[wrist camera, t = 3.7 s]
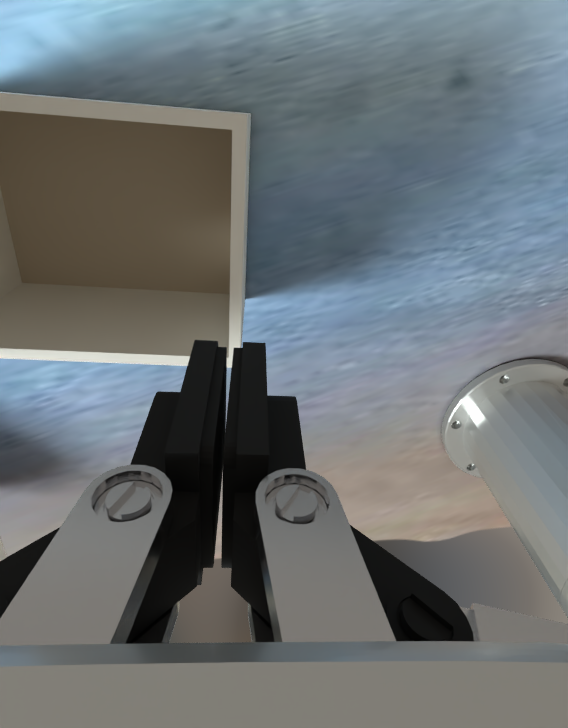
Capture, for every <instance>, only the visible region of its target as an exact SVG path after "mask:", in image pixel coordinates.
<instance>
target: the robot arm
mask: <svg viewBox="0 0 568 728" xmlns="http://www.w3.org/2000/svg"><path fill="white" fill-rule="evenodd" d="M226 367H227V347H218V341H210V340H195V341H194V344H193V348H192V351H191V355H190V359H189V362H188V366H187V370H186V374H185V377H184V381H183V385H182V388H181V392H157V393H156V395H155V397H154V400H153V403H152V406H151V408H150V411H149V414H148V417H147V420H146V422H145V425H144V428H143V431H142V434H141V437H140V439H139V442H138V445H137V448H136V451H135V453H134V456H133V459H132V462H131V465H127V466H122V467H117V468H115V469H112V470H110V471H107V472H105V473H103V474H102V475H100V476H99V477H98V478H96V479H95V480H93V482H92V483H91V484H90V485H89V486H88V487H87V488H86V490H85V491H84V493H83V494H82V496H81V497H80V499H79V500H78V502H77V503H76V505H75V506H74V508H73V509H72V511H71V512H70V514H69V515H68V517H67V518H66V520H65V521H64V523H63V524H62V526H61V527H60V528H58V529H56V530H54V531H53V532H51V533H49V534H47V535H46V536H44V537H42V538H40V539H38V540H37V541H35V542H33V543H31V544H30V545H28V546H26V547H24V548H23V549H21V550H19V551H17V552H16V553H14V554H12V555H10V556H9V557H7V558H5V559H3V560H2V561H0V728H568V624H565V623H561V622H556V621H551V620H547V619H543V618H538V617H534V616H529V615H524V614H520V613H516V612H511V611H507V610H502V609H498V608H493V607H489V606H484V605H480V604H475V603H472V606H471V607H470V609H468V608H463V607H459V606H458V604H457V603H456V602H455V601H454V600H453V599H452V598H450V597H449V596H448V595H447V594H446V593H445V592H444V591H442V590H441V589H439V588H438V587H437V586H435V585H434V584H432V583H431V582H430V581H428V580H427V579H425V578H424V577H423V576H421V575H420V574H418V573H417V572H416V571H414V570H413V569H411V568H410V567H408V566H407V565H405V564H404V563H403V562H401V561H400V560H399V559H397V558H396V557H394V556H393V555H392V554H390V553H389V552H387V551H386V550H385V549H383V548H382V547H380V546H379V545H378V544H376V543H375V542H373V541H372V540H371V539H369V538H368V537H366V536H365V535H363V534H362V533H361V532H359V531H358V530H356V529H355V528H354V527H352V526H351V525H349V522H348V520H347V517H346V515H345V512H344V510H343V507H342V505H341V502H340V500H339V497H338V495H337V493H336V491H335V490H334V488H333V486H332V485H331V484H330V483H329V482H328V481H327V480H326V479H325V478H323V477H322V476H320V475H318V474H316V473H314V472H312V471H308V470H306V465H305V458H304V451H303V443H302V436H301V429H300V421H299V414H298V406H297V400H296V397H292V396H267V375H266V346H265V343H252V342H243V348H234V350H233V360H232V370H231V381H230V391H229V401H228V411H227V422H226ZM225 423H226V432H225ZM441 434H442V442H443V445H444V448H445V450H446V452H447V454H448V456H449V457H450V459H451V461H452V462H453V463H454V464H455V465H456V466H457V467H458V468H459V469H461V470H462V471H464V472H465V473H467V474H470V475H473V476H475V477H479V478H483V480H484V481H485V483H486V485H487V486H488V488H489V490H490V491H491V493H492V495H493V496H494V498H495V500H496V501H497V503H498V504H499V506H500V508H501V509H502V511H503V513H504V514H505V516H506V518H507V519H508V521H509V523H510V524H511V526H512V527H513V529H514V531H515V532H516V534H517V536H518V537H519V539H520V541H521V542H522V544H523V546H524V547H525V549H526V550H527V552H528V554H529V555H530V557H531V559H532V560H533V562H534V564H535V565H536V567H537V568H538V570H539V572H540V573H541V575H542V577H543V579H544V580H545V582H546V583H547V585H548V586H549V588H550V590H551V592H552V593H553V595H554V597H555V598H556V600H557V602H558V603H559V605H560V607H561V608H562V610H563V611H564V613H565V614H566V616H567V618H568V368H567V367H565V366H563V365H561V364H559V363H557V362H552V361H548V360H542V359H526V360H518V361H513V362H510V363H506V364H503V365H500V366H498V367H495V368H493V369H491V370H489V371H487V372H485V373H483V374H482V375H480V376H479V377H477V378H475V379H474V380H473V381H471V382H470V383H469V384H468V385H467V386H465V387H464V388H463V389H462V390H461V391H460V393H459V394H458V395H457V396H456V397H455V398H454V400H453V401H452V403H451V404H450V406H449V408H448V409H447V411H446V414H445V417H444V419H443V423H442V430H441ZM222 471H223V505H222V568H232V573H231V587H232V588H233V589H234V590H235V591H236V592H238V594H240V595H241V596H242V597H243V598H244V599H245V600H246V601H247V602H248V617H249V625H250V632H251V639H252V642H245V643H243V642H242V643H169V642H170V638H171V635H172V632H173V629H174V625H175V622H176V619H177V616H178V611H179V604H180V602H179V601H180V600H181V599H182V598H183V597H184V596H185V595H187V594H188V593H189V592H191V591H192V590H193V589H194V588H195V587H196V586H197V585H201V581H202V573H203V568H212V567H213V564H214V554H215V544H216V534H217V523H218V513H219V502H220V492H221V481H222Z"/></svg>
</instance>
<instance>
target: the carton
mask: <svg viewBox="0 0 568 728" xmlns="http://www.w3.org/2000/svg"><path fill="white" fill-rule="evenodd" d="M250 135H251V113H242V112H230V111H219V110H207V109H196V108H184V107H173V106H161V105H149V104H138V103H126V102H115V101H103V100H92V99H80V98H69V97H57V96H45V95H34V94H22V93H11V92H0V358H5V359H29V360H54V361H79V362H103V363H128V364H153V365H177V366H188V362H189V359H190V355H191V351H192V348H193V344H194V341H195V340H210V341H218V347H227V368H232V360H233V350H234V348H241V345H242V332H243V319H244V306H245V284H246V254H247V224H248V195H249V165H250Z"/></svg>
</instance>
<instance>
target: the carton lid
mask: <svg viewBox="0 0 568 728" xmlns="http://www.w3.org/2000/svg"><path fill="white" fill-rule="evenodd" d="M5 558H7V554H6V552H5V549H4V546H3V543H2V541H1V538H0V561H2V560H3V559H5Z"/></svg>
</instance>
